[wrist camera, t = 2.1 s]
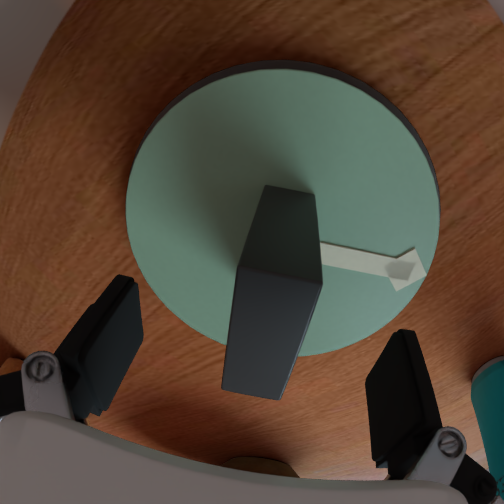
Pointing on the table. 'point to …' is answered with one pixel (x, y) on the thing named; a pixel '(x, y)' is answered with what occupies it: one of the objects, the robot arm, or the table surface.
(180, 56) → the table surface
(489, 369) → the beverage can
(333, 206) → the turntable tray
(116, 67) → the table surface
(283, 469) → the bowl
